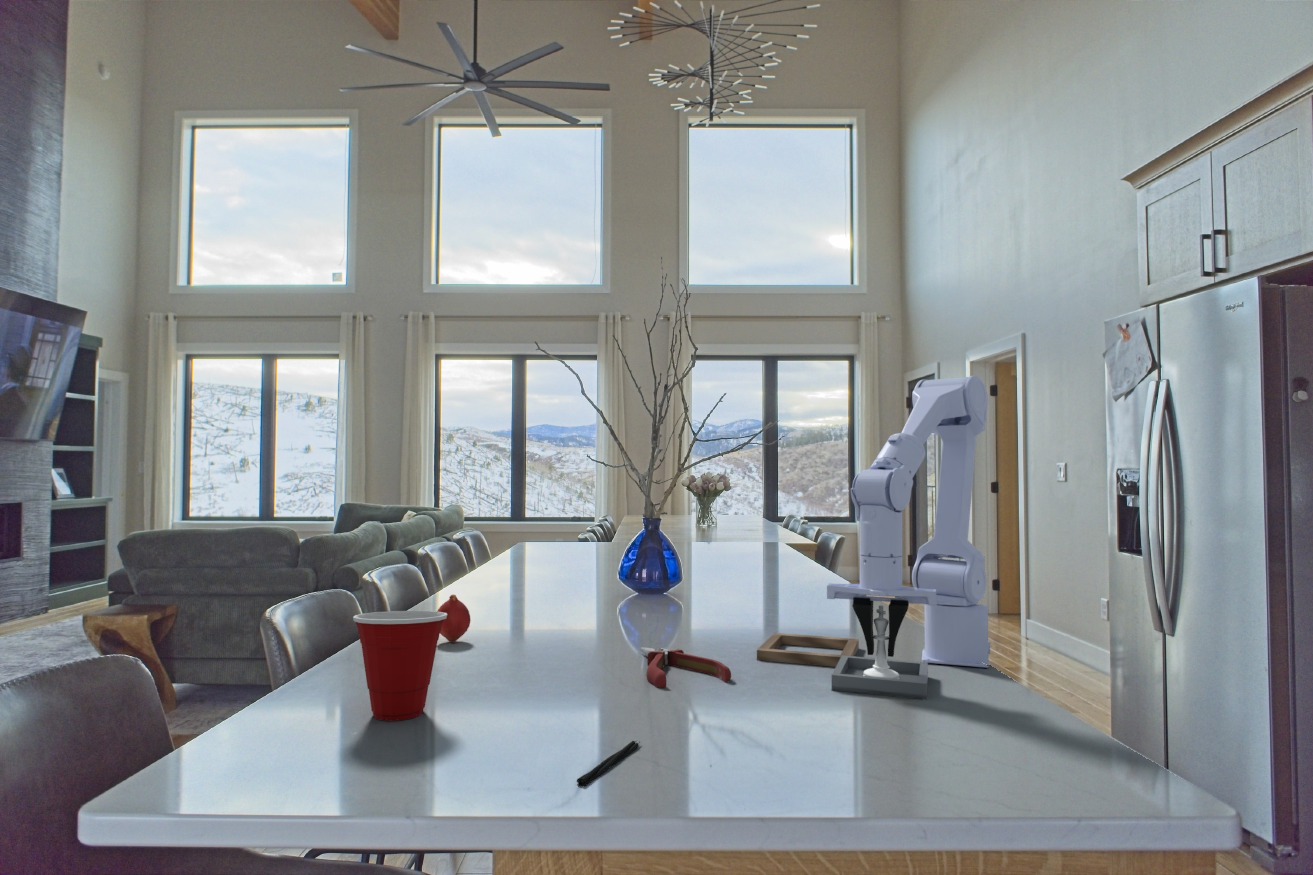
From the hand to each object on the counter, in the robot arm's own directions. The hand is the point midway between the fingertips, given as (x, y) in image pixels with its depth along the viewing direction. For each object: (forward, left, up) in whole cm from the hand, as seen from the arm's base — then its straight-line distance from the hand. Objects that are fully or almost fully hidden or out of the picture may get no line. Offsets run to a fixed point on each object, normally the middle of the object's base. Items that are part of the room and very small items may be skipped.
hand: (880, 654), depth 110 cm
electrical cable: (+23, +41, -5) cm, 47 cm away
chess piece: (0, -1, -4) cm, 4 cm away
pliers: (+28, +2, -5) cm, 28 cm away
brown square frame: (+12, -14, -4) cm, 19 cm away
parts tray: (0, 0, -4) cm, 4 cm away
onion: (+69, 0, -4) cm, 70 cm away
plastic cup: (+53, +35, -4) cm, 64 cm away
